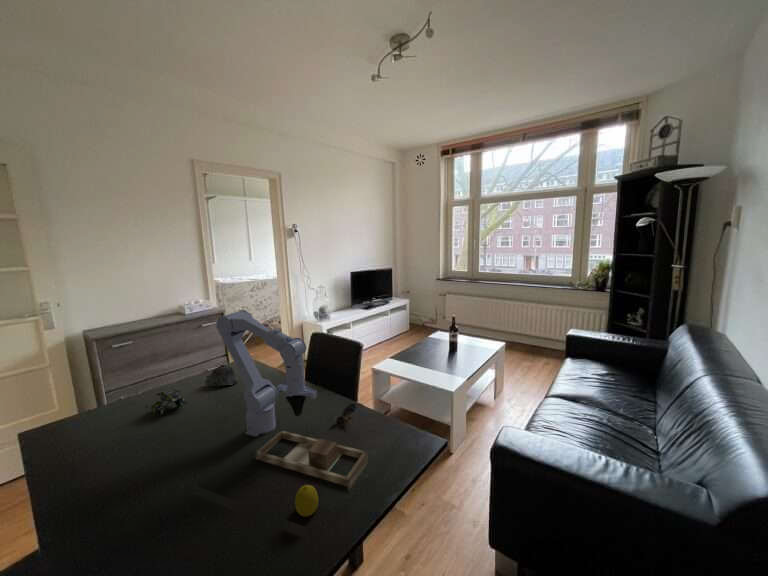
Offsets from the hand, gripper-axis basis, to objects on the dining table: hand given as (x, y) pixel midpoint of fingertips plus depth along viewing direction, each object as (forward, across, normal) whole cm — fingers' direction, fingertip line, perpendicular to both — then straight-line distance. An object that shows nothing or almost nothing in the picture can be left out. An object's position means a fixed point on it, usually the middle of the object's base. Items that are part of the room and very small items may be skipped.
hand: (298, 414), depth 107 cm
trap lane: (+9, +10, -8) cm, 16 cm away
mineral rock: (+10, -61, +23) cm, 66 cm away
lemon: (+10, +20, -24) cm, 33 cm away
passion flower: (+10, -62, -3) cm, 63 cm away
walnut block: (+8, +14, -8) cm, 18 cm away
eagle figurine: (+10, +10, +14) cm, 20 cm away
